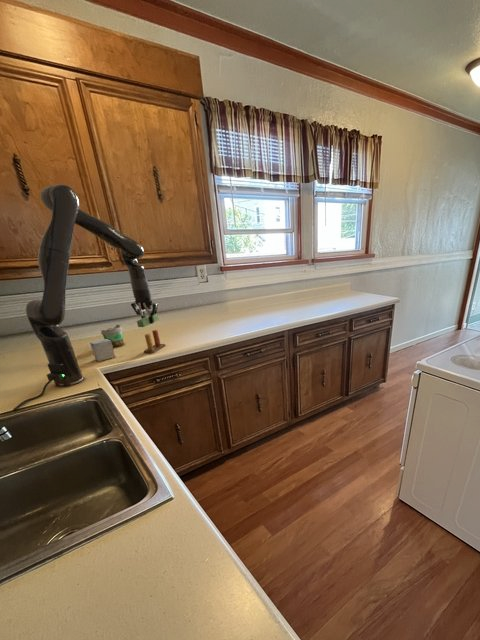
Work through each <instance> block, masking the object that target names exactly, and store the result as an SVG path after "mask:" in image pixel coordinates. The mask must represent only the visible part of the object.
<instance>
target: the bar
mask: <svg viewBox="0 0 480 640" xmlns="http://www.w3.org/2000/svg"><path fill="white" fill-rule="evenodd" d="M153 318H154V323H156V322H157V321H160V319H159V315H158V314H157V313H156V314H155V315H153ZM136 324H137V327H138V328H146V327H147V326H150V325H151V324H150V320H149V315H147V316H146V317H145V318H143V319H142V318H140V319H138V320H136Z"/></svg>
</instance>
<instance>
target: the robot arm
mask: <svg viewBox="0 0 480 640" xmlns="http://www.w3.org/2000/svg"><path fill="white" fill-rule="evenodd" d="M40 201H41V202H42V204H43V206H44V207H45V208H46V209H47V210H49V211H50V212H51V220H50V222H49V224H48V226H47V228H46V229H45V232H44V233H43V236H42V237H41V240H40V243H39V247H38V255H37V264H38V268H39V269H38V270H39V272H40V274H41V277H42V280H43V293H42V298H41V299H32V300H29V301H28V302H27V304H26V305H25V314H26V317H27V320H28V322H29V324H30V327H31V328H32V331H33V333H34V335H35V337H36V338H37V339H38V340H39V341H40V344H41V346H42V349H43V351H44V353H45V356H46V359H47V361H48V363H47V367H48V370H49V373H47V374H46V378H47V380H48V381H47V382H46V383H45V384H44V386H43V388H42V391H41V393H40V394H38V395H37V396H33V397H30V398H27V399H25V400H24V401H22V402H20V403H18V404H17V405H16V407H14V408H13V411H17V410H18V409H19V408H20V407H21V406H23V405H24V404H26V403H27V402H30V401H32V400H36V399H38V398H41V397H42V396H43V395H44V394H45V393H46V391H47V390H46V389H47V387H48V386H49V385H50V384H51V382H52V381H53V382H54V385H55V386H58V387H70V386H73V385H76V384H80V383H82V382H83V381H84V379H85V378H84V376H83V372H82V369H81V368H80V365H79V361H78V359H77V356H76V354H75V351H74V348H73V345H72V342H71V340H70V337H69V334H68V333H67V331H65V330H63V329H62V328H61V327H60V326H59V325H60V324H62V323H63V322H64V320H65V317H66V293H67V291H66V290H67V281H68V272H69V266H70V261H71V260H70V259H71V249H72V242H73V236H74V228H75V225H77V226H79V227H81V228H82V229H84V230H86V231H88V232H89V233H91V234H92V235H94V236H95V237H97V238H98V239H100V240H101V241H103V242H105V243H106V244H108V245H109V246H111V247H113V248H114V249H118V250H119V252H120V256H121V258H122V260H123V262H124V264H125V267H126V268H127V271H128V275H129V280H130V286H131V290H132V294H133V298H134V302H132V303H130V306H131V307H132V309H133V311H134V312H135V314H136V315H137V316H140V319H143V318H145V317H147V316H149V320H150V324H149V325H153V324H154V323H155V322H154V318H153V315H155V314H157V313H158V307H159V303H158V302H154V301H153V300H152V295H151V290H150V285H149V282H148V279H147V275H146V271H145V267H144V265H142V264H141V263H139V262H138V260H141V259H142V258H143V257H144V256H145V250H144V247H143V246H142V245H141V244H140V243H139V242H137V241H136V240H134V239H132V238H131V237H129V236H126V235H125V234H123V233H121V232H120V231H119V230H117V229H116V228H114V227H113V226H112V225H111V224H109V223H108V222H106V221H104V220H102V219H100V218H98V217H95V216H93V215H91V214H89V213H87V212H86V211H84V210H82V209H80V200H79V196H78V194H77V193H76V191H75V190H74V189H73V188H72V187H71V186H69V185H67V184H62V183H61V184H53V185H49V186H46V187H44V188H43V189H42V190H41V191H40ZM146 313H147V316H146Z"/></svg>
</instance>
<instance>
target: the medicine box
mask: <svg viewBox="0 0 480 640" xmlns="http://www.w3.org/2000/svg"><path fill="white" fill-rule="evenodd" d="M90 347H91V350H92V354H93V356H94V359H95V360H96V361H97V362H102V361H106V360H110V359H113V358H116V354H115V351H114V348H113V347H112V344H111V341H110V340H108V339H104V338H103V339H100V340H96V341H92V342H90Z"/></svg>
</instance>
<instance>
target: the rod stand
mask: <svg viewBox="0 0 480 640" xmlns="http://www.w3.org/2000/svg"><path fill="white" fill-rule="evenodd" d="M151 332H152V336H153V339H152V336H151V334H150V333H145V334H144V338H145V343H146V346H147V348H146V349H145V350H144V351H143V352H144V354H155V353H156V352H158V351H159V350H161V349H162V348H164V347H166V344H165V343H161V339H160V336H159V331H158V330H157V329H154V330H152V331H151ZM153 340H154V344H153Z"/></svg>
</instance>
